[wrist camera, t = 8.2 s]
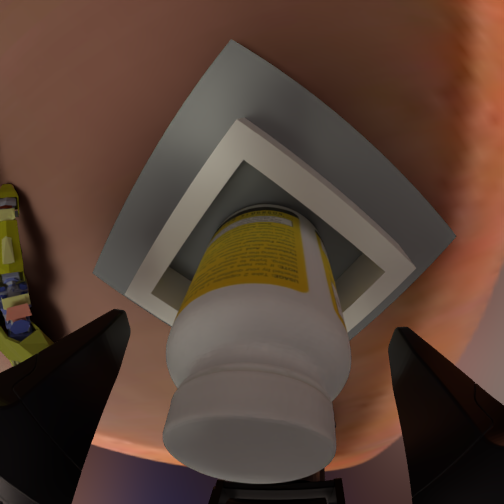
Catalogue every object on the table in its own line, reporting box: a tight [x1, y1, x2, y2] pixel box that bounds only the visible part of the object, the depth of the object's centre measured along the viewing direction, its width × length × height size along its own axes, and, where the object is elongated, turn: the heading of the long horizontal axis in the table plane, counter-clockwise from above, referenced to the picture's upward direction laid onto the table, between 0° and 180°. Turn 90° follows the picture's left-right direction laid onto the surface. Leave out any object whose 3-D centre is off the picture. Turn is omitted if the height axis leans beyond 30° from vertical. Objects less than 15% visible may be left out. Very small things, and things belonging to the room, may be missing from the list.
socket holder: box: [93, 39, 456, 340], centre depth 14 cm, size 14×14×4 cm
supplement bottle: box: [163, 204, 351, 484], centre depth 10 cm, size 5×5×10 cm
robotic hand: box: [0, 184, 54, 366], centre depth 17 cm, size 12×7×25 cm
